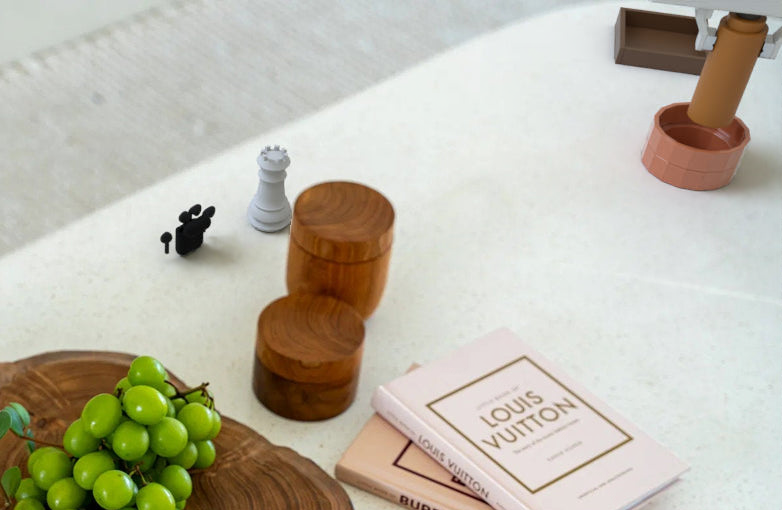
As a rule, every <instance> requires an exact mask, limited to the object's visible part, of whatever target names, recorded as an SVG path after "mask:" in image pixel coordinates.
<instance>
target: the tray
mask: <svg viewBox="0 0 782 510" xmlns="http://www.w3.org/2000/svg"><path fill="white" fill-rule="evenodd" d="M706 21H707V25H708V27H710V26H709V19H706ZM698 33H699V28H698V25H697V21H696V18H695V16H691V15H683V14H677V13H676V14H675V13H670V12H661V11H655V10H647V9H638V8H633V7H632V8H631V7H625V6H624V7H623V6H620V8H619V11H618V14H617V17H616V20H615V24H614V47H613V60H614V64H615V65H620V66H627V67H634V68H635V67H636V68H641V69H642V68H643V69H649V70H657V71H663V72H670V73H677V74H685V75H691V76H698V77H700V75H701V72H702V69H703V67H704V64H705V61H706V58H707V56H708V53H709V51H700V50H696V49H695V43H696V38H697V36H698Z"/></svg>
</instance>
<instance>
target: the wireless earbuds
mask: <svg viewBox="0 0 782 510" xmlns="http://www.w3.org/2000/svg"><path fill="white" fill-rule="evenodd" d="M202 209H203V208H202V204H201V203H196V204H194V205H192V206H191V207H189V209H188V210H183V211H182V212H180V214H179V215H178V222H179V223H181V225H180V224H179V226H177V227H176V228H175V236H174V237H175V238H174V239H175V240H174V250H175V252H176V253H177V254H178V255H179V256H182V257H183V256H184V257H185V256H188V255H189V254H191V253H193V252H194V251H196V250H197V249H199V248H201V247H202V246H203V243H204V234H205V233H206V231H207V230H208V229H209V228H210V227H211V225H212V219H211V218H214V216H215V214H216V207H215V206H214V205H209V206H208V207H206V208H204V210H203V211H202ZM201 212H202V214H201ZM200 214H201V215H200ZM193 216H194V218H193ZM159 240H160V243H161V244H164V254H165V255H169V254H170V243H171V242H172V241H173V235H172V233H171V232H170V231H165V232H163V233H162V234H161V235H160V238H159Z"/></svg>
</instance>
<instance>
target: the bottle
mask: <svg viewBox="0 0 782 510" xmlns="http://www.w3.org/2000/svg"><path fill="white" fill-rule="evenodd" d="M767 21H768V16H763V15H754V14H746V13H737V12H729V11H728V13H727V14H726V15H724V16H722V17H721V18H720V20H719V22H718V24H717V25H718V26H717V27H716V29H717V31H716V33H717V39H716V42H715V43H714V44H713V50H712V52H709V53H708V56H707V58H706V61H705V64H704V67H703V69H702V72H701V75H700V76H699V78H698V81H697V83H696V86H695V89H694V92H693V94H692V97H691V100H690V102H691V103H690V105H689V108H688V111H687V114H688V116H689V118H690V119H691V120H692V121H694V122H695V123H697V124H699V125H702V126H705V127H710V128H722V127H726V126H728V125H730V124H731V123H732V121H733V119H734V116H736V114H737V111H738V109H739V106H740V104H741V101H742V99H743V96H744V94H745V91H746V89H747V86H748V84H749V81H750V78H751V76H752V73H753V71H754V68H755V66H756V63H757V61H758V56H759V53H760V51H761V48H762V46H763V43H764V41H765V38H766V36H767V34H769V31H770V29H769V28H770V27H769V25H768V23H767Z"/></svg>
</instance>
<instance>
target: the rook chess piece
mask: <svg viewBox="0 0 782 510" xmlns="http://www.w3.org/2000/svg"><path fill="white" fill-rule="evenodd" d="M280 146H281V145H279V144H274V148H272V147H271V145H270V144H267V145H265V146H264V148H261V150H260V154H258V155H257V157H256V160H255V161H256V164H257V165H258V167H259V170H258V172H257V176H258V178H259V181H258V186H257V190H256V193H255V194H253V197H252V198H251V199H250V201H249V204H248V206H247V210H248V211H247V212H246V219H247V221H248V223H249V224H250V225H251V226H252V227H253V228H254V229H256V230H258V231H261V232H266V233H275V232H279V231H282V230H283V229H284V228H286V226H288V225H289V224H290V223H291V220H292V207H291V203H290V201H289V200H288V196H286V190H285V189H286V188H285V180H286V179H287V177H288V172H287V171H286V169H288V168H289V166H291V162H292V161H291V158H290V156H289V153H288V152H287V151H288V149H286V148H285V147H280ZM280 148H281V149H280ZM290 219H291V220H290Z"/></svg>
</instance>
